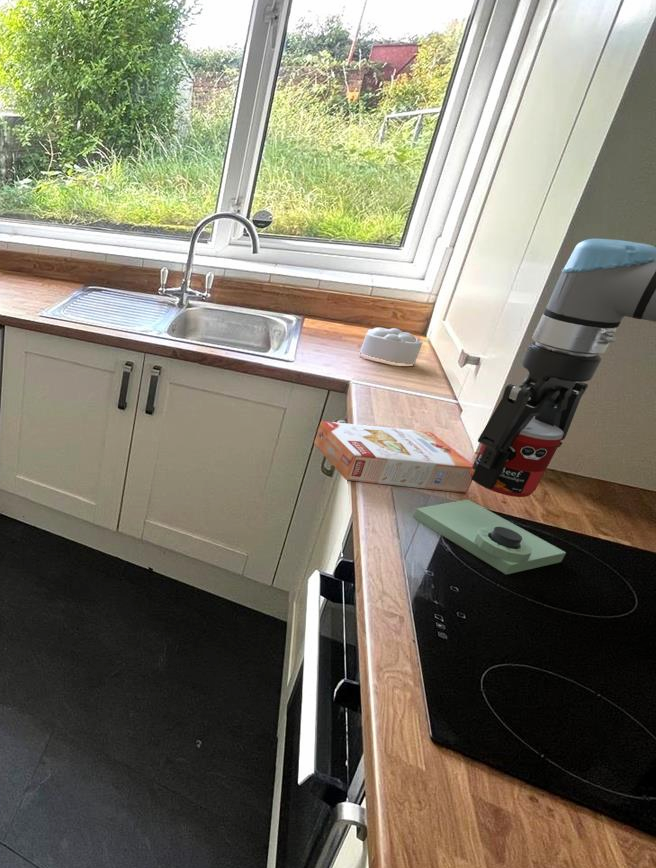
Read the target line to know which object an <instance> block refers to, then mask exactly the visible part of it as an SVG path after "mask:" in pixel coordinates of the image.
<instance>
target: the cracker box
mask: <svg viewBox="0 0 656 868" xmlns="http://www.w3.org/2000/svg"><path fill="white" fill-rule="evenodd" d="M313 445H314V446H315V447H316V448H317V450H318V451H319V452H320V453H321V454H322V455H323V456H324V457H325V459H327V461H328V462H329V463H330V464H331V465H332V466H333V467H334V468H335V469H336V471H337V472H338V473H339V474H340V475H341V476H342V478H344V480H346V481H353V482H361V483H363V482H364V483H370V484H379V485H389V486H400V487H407V488H417V489H426V490H436V491H445V492H453V493H454V492H455V493H464V494H467V493H468V492H469V489H470V487H471V485H472V482H473V480H471V479H472V478H471V476H470V470H471V468H472V465H473V463H472V462H471V461H469V460H468V459H467V458H465V457H464V456H463V455H461V454H460V453H459V452H457V451H456V450H455V449H453V448H452V447H451V446H450V445H449V444H447V443H446V442H444V441H443V440H442V439H441V438H439V437H438V436H436V435H435V434H434V433H433V432H432V431H428V430H427V431H426V430H415V429H406V428H398V427H397V428H396V427H386V426H377V425H376V426H374V425H364V424H355V423H345V422H335V421H327V420H321V421H320V423H319V425H318V429H317V433H316V435H315V439H314V441H313Z"/></svg>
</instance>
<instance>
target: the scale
mask: <svg viewBox="0 0 656 868" xmlns="http://www.w3.org/2000/svg"><path fill="white" fill-rule="evenodd" d="M412 518H413V519H415V520H417V521H418V522H420V523H422V524H423V525H424V526H426V527H428V529H431V530H433V531H435V532H436V533H438V534H439V535H441V536H442V537H444V538H446V539H448V540H449V541H451V542H452V543H454V544H456V545H457V546H459V547H460V548H462V549H464V550H465V551H467V552H469V553H470V554H472V555H473V556H475V557H477V559H480V560H481V561H483V562H484V563H486V564H488V565H490V566H491V567H493V568H494V569H496V570H497V571H499V572H501V573H503V574H504V575H511V574H514V573H519V572H524V571H528V570H533V569H536V568H540V567H545V566H550V565H554V564H558V563H562V561H563V560H564V558H565V556H566V554H567V552H566V551H564V550H562V549H561V548H559V547H557V546H556V545H553V544H551V543H549V542H548V541H546V540H544V539H543V538H540V537H539V536H537V535H535V534H533V533H532V532H529V531H528V530H525V529H524V528H523V527H521V526H518V525H517V524H514V523H513V522H511V521H509V520H507V519H505V518H503V517H501V516H500V515H498V514H496V513H494V512H493V511H491V510H488V509H487V508H485V507H484V506H481V505H480V504H478V503H475V502H474V501H472V500H470V499H462V500H457V501H450V502H445V503H439V504H433V505H429V506H423V507H422V506H421V507H417V508H416V509H415V510H414V513H413V516H412ZM495 527H504V528H508V529H510V530H513V531H515V532H517V533H518V534H520V535H521V536H522V541H521V543H520V545H519V546H518V548H517V549H512V548H507V547H504V546H501V545H499V544H497V543H495V542H494V541H492V540H491V539H490V536H491V534H492V532H493V530H494V528H495Z"/></svg>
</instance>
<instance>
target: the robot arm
mask: <svg viewBox="0 0 656 868" xmlns="http://www.w3.org/2000/svg"><path fill="white" fill-rule="evenodd" d="M625 317H628V318H633V319H637V320H644V321H649V322H654V323H656V246H655V245H651V244H649V243H641V242H634V241H629V240H621V239H613V238H612V239H611V238H588V239H585V240H582V241H580V242H578V243H577V244H576V245H575V247H574V249H573V250H572V252H571V254H570V257H569V258H568V260H567V261H566V263H565V265H564V268H562V269H561V272H560V274H559V277H558V279H557V281H556V284H555V286H554V289H553V291H552V293H551V296H550V298H549V301H548V303H547V305H546V307H545V310H544V311H543V313H542V315H541V318H540V320H539V322H538V323H537V325H536V328H535V330H534V332H533V334H532V337H531V338H532V340H533V342H531V343H529V344H528V346H527V348H526V350H525V352H524V354H523V357H522V359H521V362H520V364H521V366H522V367H523V368H524V369H526V371H528V374H527V376H526V377H525V379H524V380H523V381H522V382H521V385H520V384H519V385H514V384H512V383H509V384H507V385H506V386H505V388H504V390H503V394H502V397H501V400H500V401H499V403H498V404H497V406H496V408H495V409H494V411H493V413H492V415H491V416H490V417H489V420H488V422H487V423H486V425H485V427H484V429H483V430H482V432H481V433H480V435H479V437H478V439H477V443H479V444H481V445H482V444H484V445H486V448H485V450H484V453H483V455H482V457H481V459H480V461H479V463H478V466H477V468H476V470H475V472H474V474H473V476H472V479H471V480H472V482H475V483H476V482H477V483H479V484H481V485H483V486H485V487H487V488H489V489H493V488H494V486H495V484H496V482H497V480H498V478H499V476H500V474H501V471H502V469H503V467H504V465H505V463H506V461H507V459H508V457H509V455H510V452H508V451H507V450H508V448H509V447H510V446H511V445H512V443H513V442H514V441H515V440H516V438H517V437H518V436H519V434H520V432H521V430H524V428H525V427H526V426H527V425H528V423H529V422H530V421H531V420H532V418H533V417H534V418H535V419H536V420H538V421H541V422H543V423H546V424H549V425H552V426H554V425H555V426H556V427H558V428H560V429H561V430H562V431H563V432H564V434H563V437H562V439H561V441H560V444H559V446H558V448H560V447H561V446H562V445H563V442H562V441H563V440H565V439H566V437H567V434H568V432H569V429H570V427H571V424H572V422H573V419H574V417H575V414H576V411H577V409H578V406H579V404H580V401H581V398H582V397H583V396H584V394H585V392H586V390H587V389H588V387H589V384H588V383H585V382H588V381H591V380H592V379H593V377H594V375H595V373H596V371H597V370H598V368H599V365H600V363H601V362H602V357H601V356H600V355H601V354H604V353H605V352H606V351H607V349H608V347H609V345H610V343H614V342H615V341H616V339H617V336H616V335H615V334H616V332H617V330H618V328H619V326H620V325H621V321H622V320H623V319H624V318H625ZM477 483H476V484H477ZM479 484H478V485H479ZM481 485H480V486H481ZM487 488H486V489H487ZM489 489H488V490H489Z"/></svg>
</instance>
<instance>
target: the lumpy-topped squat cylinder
mask: <svg viewBox="0 0 656 868" xmlns="http://www.w3.org/2000/svg"><path fill="white" fill-rule="evenodd" d="M422 345H423V341H422V340H421V339H419V338H417V337H415V335H413V334H412V333H410V332H403V331H402V330H401V329H399V328H396V327H393V328H385V327H380V326H379V327H378V326H377V327H374V328H369V329H368V330H367V332H366V333H365V336H364V339H363V342H362V345H361V348H360V351H359V353H360V352H361V353H363V354H365V355H368V356H371V357H375V358H379V359H383V360H386V361H390V362H395V363H405V364H413V363H415V364H416V361H417V359H418V356H419V354H420V351H421V348H422Z"/></svg>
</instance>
